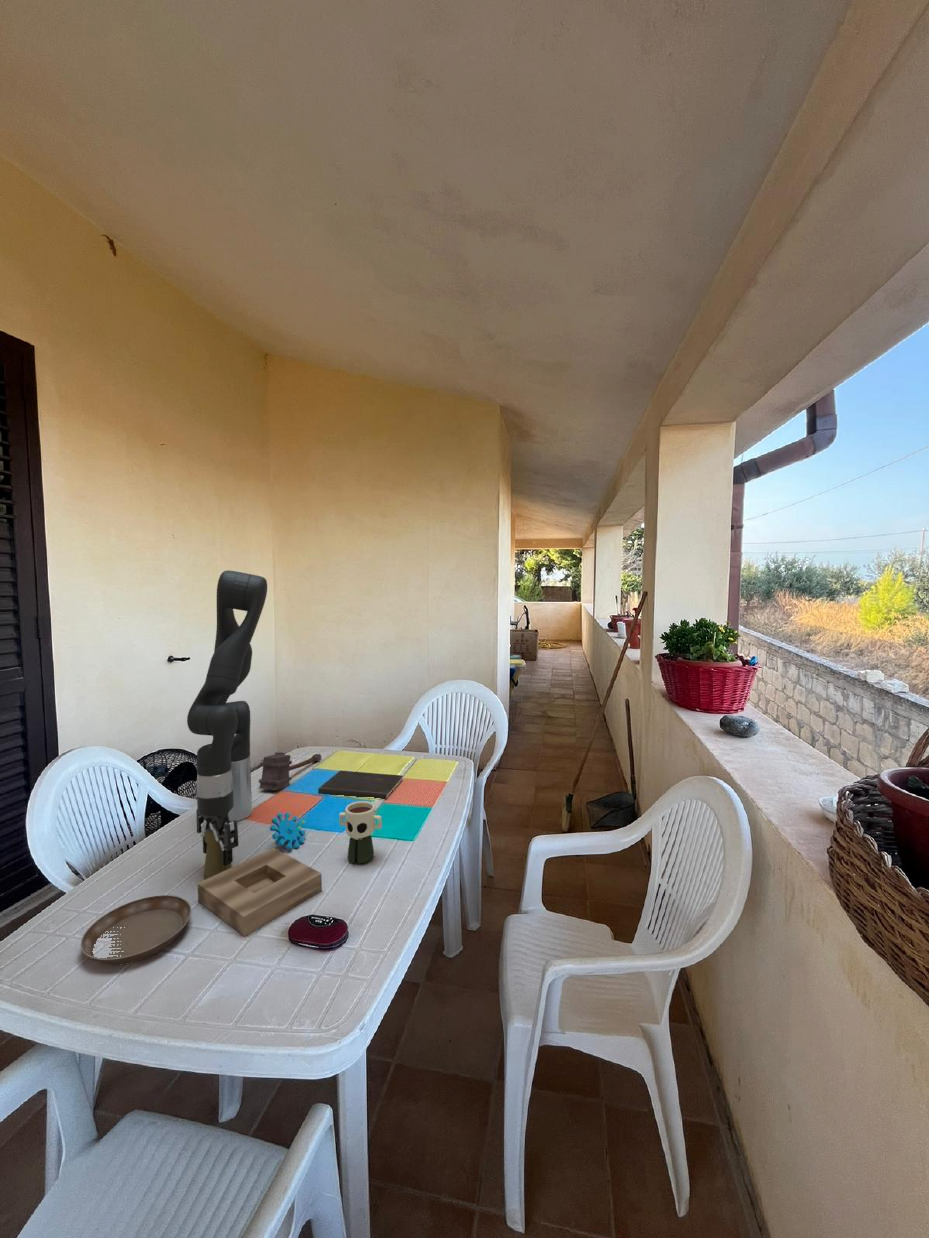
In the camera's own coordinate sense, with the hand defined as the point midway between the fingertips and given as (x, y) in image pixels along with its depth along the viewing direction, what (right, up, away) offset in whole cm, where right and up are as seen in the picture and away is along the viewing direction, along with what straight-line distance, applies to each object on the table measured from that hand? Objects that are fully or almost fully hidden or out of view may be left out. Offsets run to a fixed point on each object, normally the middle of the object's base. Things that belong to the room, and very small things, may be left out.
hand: (217, 857), depth 118 cm
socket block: (+13, -4, -8) cm, 16 cm away
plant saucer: (-5, -6, -21) cm, 22 cm away
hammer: (-2, 0, +61) cm, 61 cm away
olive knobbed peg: (0, -4, 0) cm, 4 cm away
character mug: (+32, -3, +6) cm, 33 cm away
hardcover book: (+23, -1, +50) cm, 55 cm away
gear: (+12, -3, +14) cm, 18 cm away
